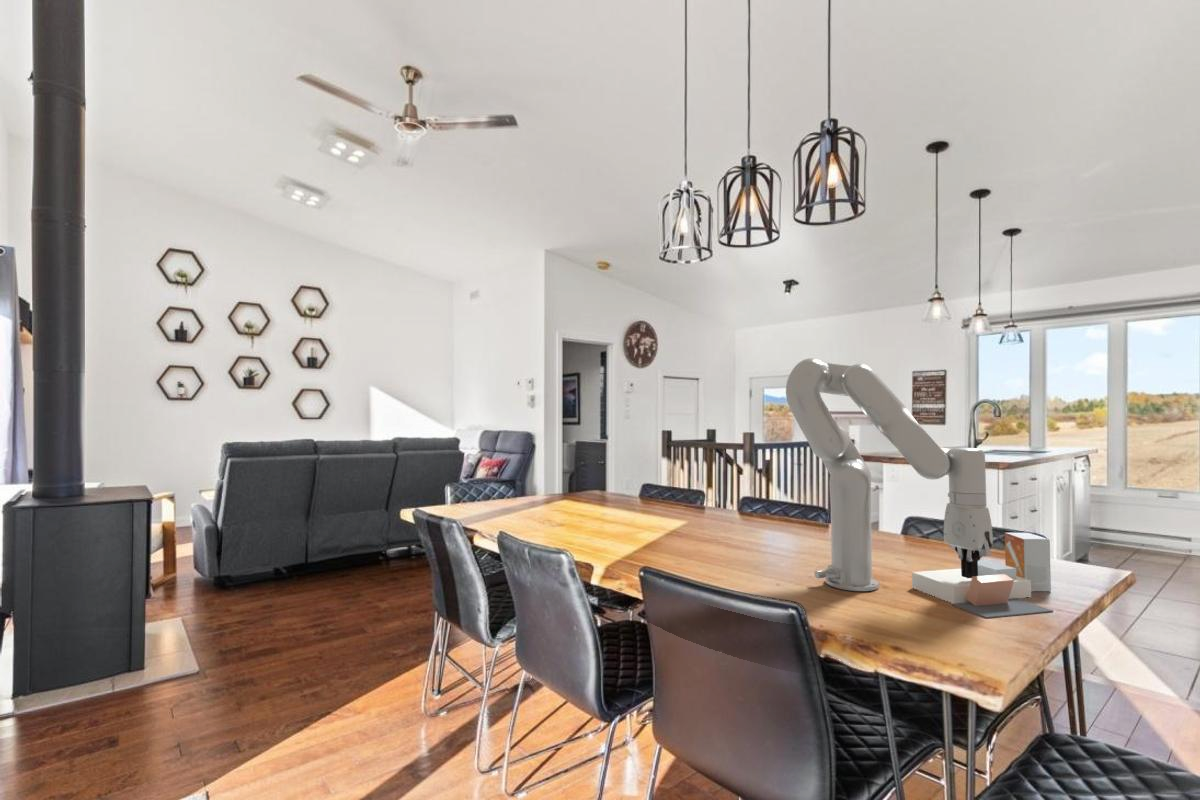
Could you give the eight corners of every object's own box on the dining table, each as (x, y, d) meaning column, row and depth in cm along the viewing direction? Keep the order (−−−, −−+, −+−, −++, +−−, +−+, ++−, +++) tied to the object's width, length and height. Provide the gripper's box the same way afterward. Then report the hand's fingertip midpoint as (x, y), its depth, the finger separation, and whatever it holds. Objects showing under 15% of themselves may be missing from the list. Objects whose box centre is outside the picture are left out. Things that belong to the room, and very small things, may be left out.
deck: (954, 604, 136) (953, 586, 136) (912, 588, 148) (911, 572, 149) (1031, 597, 141) (1030, 580, 141) (984, 582, 153) (984, 566, 154)
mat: (985, 618, 126) (985, 617, 126) (952, 605, 135) (952, 603, 135) (1053, 611, 130) (1053, 610, 130) (1016, 599, 139) (1016, 598, 139)
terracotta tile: (966, 599, 136) (974, 605, 134) (972, 576, 134) (981, 582, 132) (998, 596, 138) (1007, 602, 136) (1004, 573, 136) (1014, 580, 134)
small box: (1005, 582, 153) (1004, 532, 154) (1030, 582, 153) (1029, 532, 153) (1024, 591, 145) (1023, 538, 146) (1051, 592, 145) (1050, 539, 145)
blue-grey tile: (1016, 578, 142) (1016, 568, 142) (995, 580, 141) (995, 569, 141) (984, 569, 151) (984, 559, 151) (964, 570, 150) (964, 560, 150)
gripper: (930, 496, 147) (931, 570, 147) (981, 504, 133) (984, 587, 132) (954, 495, 149) (956, 568, 148) (1008, 503, 134) (1011, 584, 134)
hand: (969, 576), depth 140 cm, fingers closed
